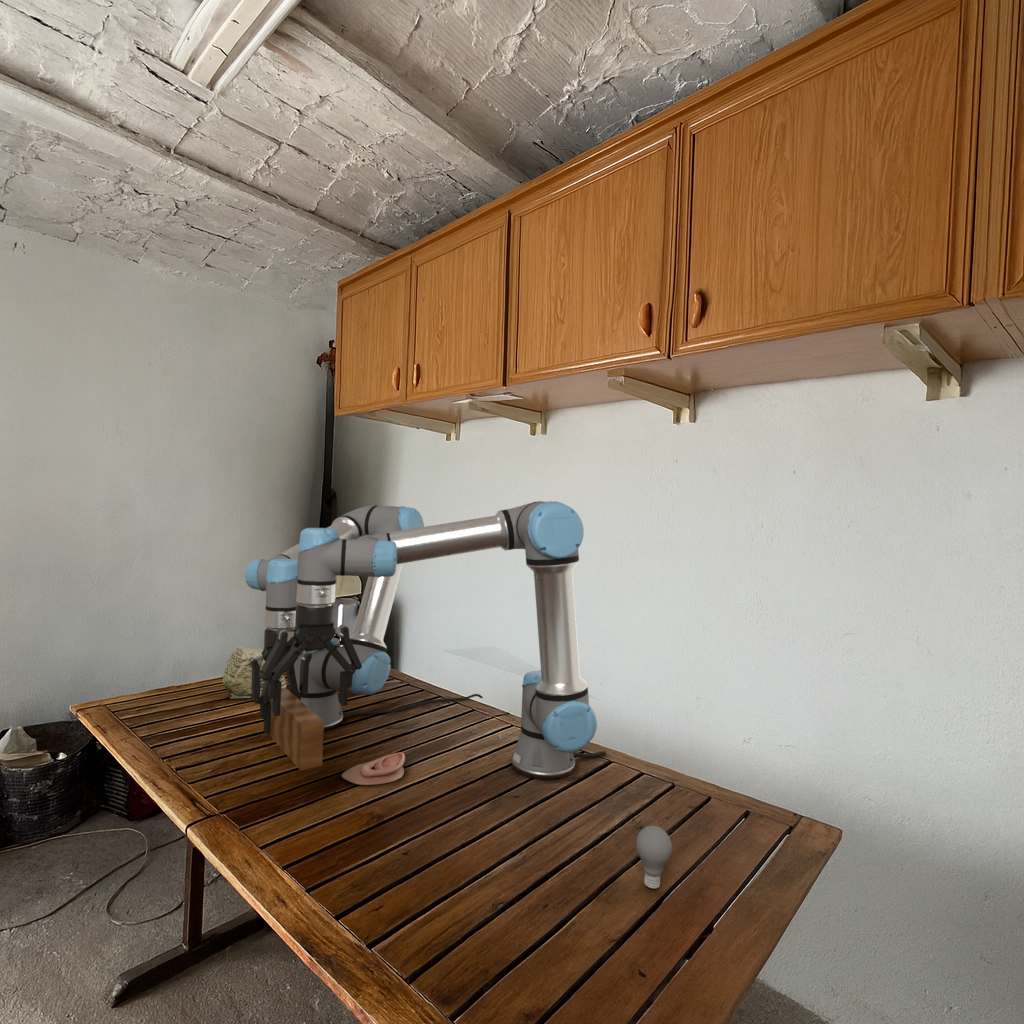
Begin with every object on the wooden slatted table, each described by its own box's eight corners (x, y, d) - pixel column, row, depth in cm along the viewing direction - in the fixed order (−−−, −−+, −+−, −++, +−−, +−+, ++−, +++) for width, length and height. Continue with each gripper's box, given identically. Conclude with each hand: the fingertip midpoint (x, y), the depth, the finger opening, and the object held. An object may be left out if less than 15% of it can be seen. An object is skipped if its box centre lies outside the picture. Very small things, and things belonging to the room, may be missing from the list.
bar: (264, 729, 145) (266, 690, 145) (284, 726, 147) (285, 687, 147) (300, 770, 124) (302, 724, 124) (322, 766, 127) (324, 721, 127)
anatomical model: (335, 763, 141) (358, 744, 152) (334, 781, 141) (357, 761, 152) (391, 771, 138) (410, 751, 149) (391, 789, 138) (410, 768, 149)
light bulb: (629, 875, 110) (632, 818, 110) (663, 875, 110) (666, 818, 110) (639, 897, 104) (642, 837, 104) (675, 897, 104) (678, 837, 104)
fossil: (218, 695, 195) (220, 647, 195) (278, 685, 208) (279, 640, 207) (228, 703, 189) (230, 653, 188) (289, 692, 201) (290, 645, 201)
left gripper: (245, 634, 135) (242, 743, 135) (326, 627, 145) (322, 728, 146) (237, 627, 141) (233, 731, 141) (315, 621, 151) (311, 718, 152)
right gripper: (256, 611, 118) (250, 724, 118) (380, 604, 132) (375, 705, 133) (245, 604, 124) (240, 712, 124) (366, 598, 138) (361, 695, 139)
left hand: (278, 729), depth 144 cm, fingers closed on bar, 4 cm apart
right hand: (310, 708), depth 128 cm, fingers open, 13 cm apart
